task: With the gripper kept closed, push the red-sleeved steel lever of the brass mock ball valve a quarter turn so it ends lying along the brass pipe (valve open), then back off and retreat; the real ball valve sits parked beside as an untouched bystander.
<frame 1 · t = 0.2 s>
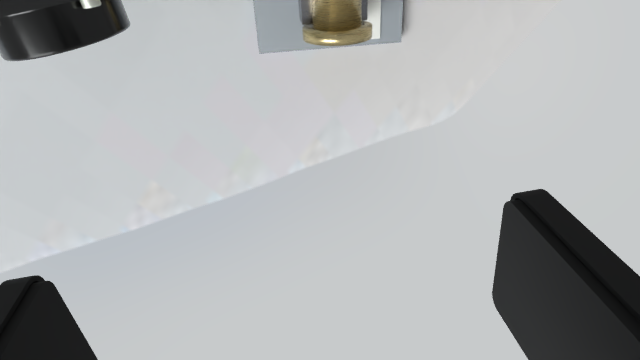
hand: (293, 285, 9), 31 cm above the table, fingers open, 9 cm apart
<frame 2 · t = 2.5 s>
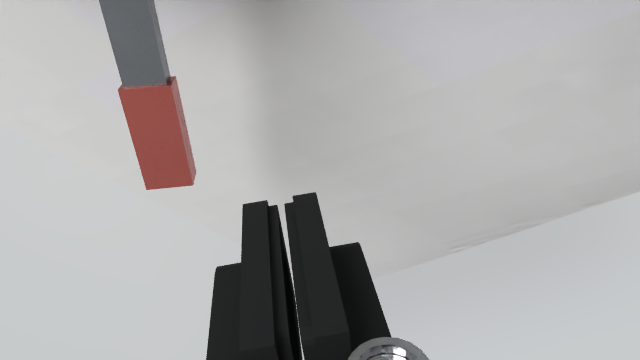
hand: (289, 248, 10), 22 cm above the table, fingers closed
lever: (128, 5, 18), point 11 cm above the table, hinge at 90.0°
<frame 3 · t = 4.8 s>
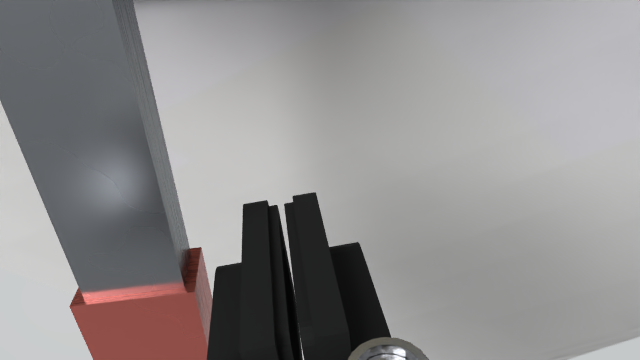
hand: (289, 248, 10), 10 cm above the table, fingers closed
lever: (92, 122, 7), point 11 cm above the table, hinge at 89.5°, touching gripper
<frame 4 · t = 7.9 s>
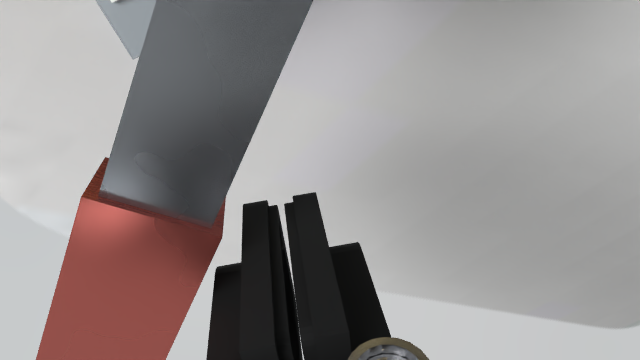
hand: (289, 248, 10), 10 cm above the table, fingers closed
lever: (228, 18, 6), point 11 cm above the table, hinge at 42.4°, touching gripper
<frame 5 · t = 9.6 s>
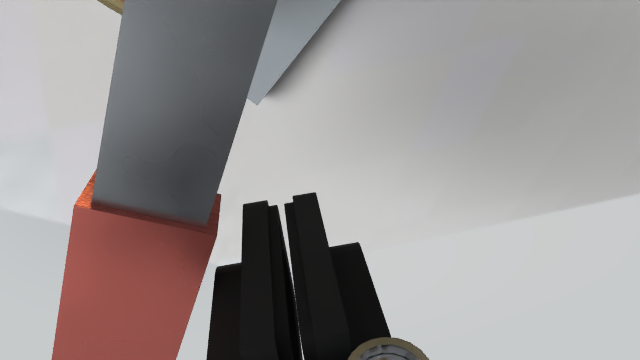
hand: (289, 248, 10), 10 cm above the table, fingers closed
lever: (200, 16, 6), point 11 cm above the table, hinge at 19.1°, touching gripper
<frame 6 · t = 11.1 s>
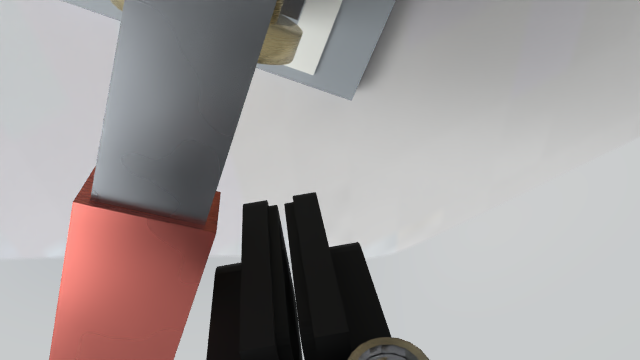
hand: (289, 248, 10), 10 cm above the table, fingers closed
lever: (201, 12, 6), point 11 cm above the table, hinge at 0.3°, touching gripper
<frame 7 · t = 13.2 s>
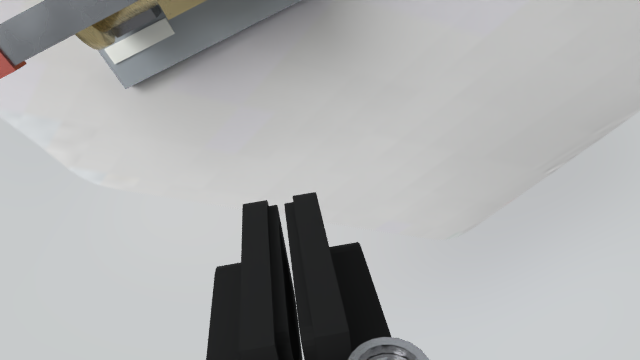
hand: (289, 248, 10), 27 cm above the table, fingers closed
lever: (59, 17, 22), point 11 cm above the table, hinge at 0.2°
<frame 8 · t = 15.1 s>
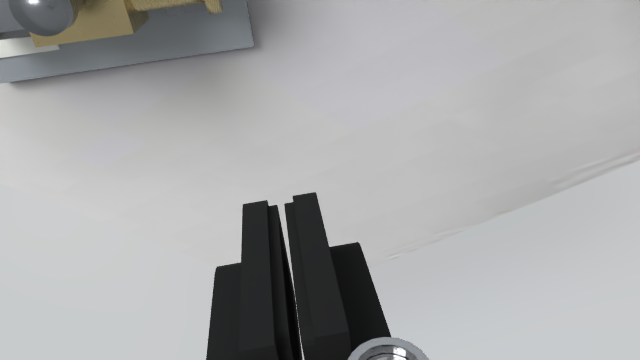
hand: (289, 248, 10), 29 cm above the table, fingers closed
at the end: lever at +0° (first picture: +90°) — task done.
